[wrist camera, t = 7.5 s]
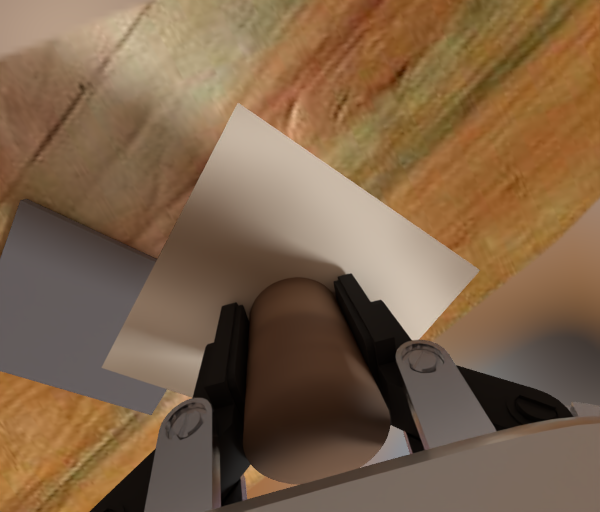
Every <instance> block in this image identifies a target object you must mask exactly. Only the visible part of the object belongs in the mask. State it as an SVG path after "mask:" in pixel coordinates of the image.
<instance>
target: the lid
mask: <svg viewBox="0 0 600 512" xmlns="http://www.w3.org/2000/svg"><path fill="white" fill-rule="evenodd" d="M479 271H480V270H479V269H477V268H476V267H475V266H473V265H472V264H470V263H469V262H467V261H466V260H464V259H463V258H462V257H460V256H459V255H457V254H456V253H454V252H453V251H451V250H450V249H449V248H447V247H446V246H444V245H443V244H441V243H440V242H438V241H437V240H436V239H434V238H433V237H431V236H430V235H428V234H427V233H425V232H424V231H423V230H421V229H420V228H418V227H417V226H415V225H414V224H412V223H411V222H410V221H408V220H407V219H405V218H404V217H402V216H401V215H399V214H398V213H397V212H395V211H394V210H392V209H391V208H389V207H388V206H386V205H385V204H384V203H382V202H381V201H379V200H378V199H376V198H375V197H373V196H372V195H371V194H369V193H368V192H366V191H365V190H363V189H362V188H360V187H359V186H358V185H356V184H355V183H353V182H352V181H350V180H349V179H347V178H346V177H345V176H343V175H342V174H340V173H339V172H337V171H336V170H334V169H333V168H332V167H330V166H329V165H327V164H326V163H324V162H323V161H321V160H320V159H319V158H317V157H316V156H314V155H313V154H311V153H310V152H308V151H307V150H306V149H304V148H303V147H301V146H300V145H298V144H297V143H295V142H294V141H293V140H291V139H290V138H288V137H287V136H285V135H284V134H283V133H281V132H280V131H278V130H277V129H275V128H274V127H272V126H271V125H270V124H268V123H267V122H265V121H264V120H262V119H261V118H259V117H258V116H257V115H255V114H254V113H252V112H251V111H249V110H248V109H246V108H245V107H244V106H242V105H241V104H239V103H238V104H237V106H236V108H235V110H234V111H233V113H232V115H231V117H230V119H229V121H228V123H227V125H226V127H225V129H224V131H223V133H222V135H221V137H220V139H219V141H218V143H217V144H216V146H215V148H214V150H213V152H212V154H211V156H210V158H209V160H208V162H207V164H206V166H205V168H204V170H203V172H202V174H201V176H200V177H199V179H198V181H197V183H196V185H195V187H194V189H193V191H192V193H191V195H190V197H189V199H188V201H187V203H186V205H185V207H184V208H183V210H182V212H181V214H180V216H179V218H178V220H177V222H176V224H175V226H174V228H173V230H172V232H171V234H170V236H169V238H168V240H167V241H166V243H165V245H164V247H163V249H162V251H161V253H160V255H159V257H158V259H157V261H156V263H155V265H154V267H153V269H152V271H151V273H150V274H149V276H148V278H147V280H146V282H145V284H144V286H143V288H142V290H141V292H140V294H139V296H138V298H137V300H136V302H135V304H134V306H133V307H132V309H131V311H130V313H129V315H128V317H127V319H126V321H125V323H124V325H123V327H122V329H121V331H120V333H119V335H118V337H117V338H116V340H115V342H114V344H113V346H112V348H111V350H110V352H109V354H108V356H107V358H106V360H105V362H104V364H103V366H102V368H104V369H107V370H110V371H113V372H116V373H119V374H122V375H125V376H128V377H131V378H134V379H137V380H140V381H143V382H147V383H150V384H153V385H156V386H159V387H162V388H165V389H168V390H171V391H174V392H177V393H180V394H183V395H186V396H189V397H192V398H193V394H194V390H195V386H196V382H197V378H198V374H199V370H200V366H201V362H202V359H203V355H204V351H205V347H206V345H207V344H210V343H214V339H215V335H216V330H217V326H218V321H219V317H220V312H221V307H222V306H224V305H227V304H231V303H235V302H237V304H238V305H243V306H244V309H245V311H246V314H247V317H248V320H249V338H248V356H247V375H246V394H245V413H244V432H243V448H244V452H245V455H246V458H247V459H248V461H249V463H250V464H251V465H252V466H253V467H254V468H255V469H256V470H257V471H258V472H259V473H261V474H263V475H264V476H266V477H268V478H271V479H273V480H276V481H279V482H284V483H289V484H304V483H308V482H311V481H315V480H319V479H322V478H326V477H329V476H333V475H337V474H340V473H344V472H347V471H351V470H355V469H358V468H360V467H361V466H363V465H364V464H365V463H367V462H368V461H369V460H371V459H372V458H373V457H374V456H375V454H376V453H377V452H378V451H379V450H380V449H381V447H382V446H383V444H384V443H385V441H386V439H387V436H388V433H389V429H390V414H389V410H388V408H387V406H386V403H385V401H384V399H383V397H382V395H381V393H380V391H379V389H378V386H377V384H376V382H375V380H374V378H373V376H372V374H371V372H370V370H369V368H368V366H367V363H366V361H365V359H364V357H363V355H362V353H361V351H360V349H359V346H358V344H357V342H356V340H355V338H354V336H353V334H352V332H351V329H350V327H349V325H348V323H347V321H346V319H345V317H344V315H343V312H342V310H341V308H340V306H339V304H338V302H337V299H336V294H335V289H334V283H333V282H334V281H337V280H338V276H342V275H346V274H350V273H352V274H353V276H354V277H355V279H356V280H357V282H358V283H359V285H360V286H361V288H362V289H363V291H364V292H365V294H366V295H367V297H368V298H369V300H370V301H371V302H373V301H376V300H382V301H383V302H384V303H385V305H386V306H387V307H388V309H389V310H390V311H391V313H392V314H393V315H394V317H395V318H396V319H397V321H398V322H399V323H400V325H401V326H402V328H403V329H404V330H405V332H406V333H407V334H408V336H409V337H410V338H411V340H419V339H420V338H421V336H422V335H423V334H424V333H425V332H426V331H427V330H428V329H429V327H430V326H431V325H432V324H433V323H434V322H435V321H436V319H437V318H438V317H439V316H440V315H441V314H442V313H443V312H444V310H445V309H446V308H447V307H448V306H449V305H450V304H451V302H452V301H453V300H454V299H455V298H456V297H457V296H458V295H459V293H460V292H461V291H462V290H463V289H464V288H465V287H466V285H467V284H468V283H469V282H470V281H471V280H472V279H473V278H474V276H475V275H476V274H477V273H478V272H479Z"/></svg>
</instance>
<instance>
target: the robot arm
mask: <svg viewBox="0 0 600 512" xmlns="http://www.w3.org/2000/svg"><path fill="white" fill-rule="evenodd" d="M333 283H334V289H335V294H336V299H337V302H338V304H339V306H340V308H341V310H342V312H343V315H344V317H345V319H346V321H347V323H348V325H349V327H350V329H351V332H352V334H353V336H354V338H355V340H356V342H357V344H358V346H359V349H360V351H361V353H362V355H363V357H364V359H365V361H366V363H367V366H368V368H369V370H370V372H371V374H372V376H373V378H374V380H375V382H376V384H377V386H378V389H379V391H380V393H381V395H382V397H383V399H384V401H385V403H386V406H387V408H388V410H389V414H390V425H392V426H394V427H397V428H399V429H401V430H403V432H404V437H405V440H406V443H407V446H408V449H409V452H410V455H406V456H402V457H398V458H395V459H391V460H387V461H384V462H380V463H376V464H373V465H369V466H365V467H362V468H358V469H355V470H351V471H347V472H344V473H340V474H337V475H333V476H329V477H326V478H322V479H319V480H315V481H311V482H308V483H304V484H301V485H297V486H294V487H290V488H287V489H283V490H279V491H276V492H272V493H269V494H265V495H261V496H258V497H255V498H251V499H247V493H246V483H245V476H244V472H245V471H246V470H247V468H248V467H249V466H250V463H249V461H248V459H247V458H246V455H245V452H244V448H243V432H244V413H245V394H246V375H247V356H248V338H249V320H248V317H247V314H246V311H245V309H244V306H243V305H238V304H237V302H235V303H231V304H227V305H224V306H222V307H221V312H220V317H219V321H218V326H217V330H216V335H215V339H214V343H210V344H207V345H206V347H205V351H204V355H203V359H202V362H201V366H200V370H199V374H198V378H197V382H196V386H195V390H194V394H193V398H192V399H189V400H186V401H184V402H182V403H180V404H179V405H178V406H176V407H175V408H174V409H172V411H171V412H170V413H169V414H168V415H167V416H166V417H165V419H164V421H163V422H162V424H161V427H160V430H159V434H158V440H157V445H156V449H155V450H154V451H153V452H152V453H151V454H149V455H148V456H147V457H146V458H145V459H144V460H143V461H142V462H141V463H140V464H139V465H138V466H137V467H136V468H135V469H134V470H133V471H132V472H131V473H130V474H128V475H127V476H126V477H125V478H124V479H123V480H122V481H121V482H120V483H119V484H118V485H117V486H116V487H115V488H114V489H113V490H112V491H111V492H110V493H109V494H107V495H106V496H105V497H104V498H103V499H102V500H101V501H100V502H99V503H98V504H97V505H96V506H95V507H94V508H93V509H92V510H91V511H90V512H600V406H596V405H590V404H584V403H578V402H572V404H571V406H567V405H563V404H562V403H561V402H560V401H559V400H557V399H556V398H554V397H552V396H551V395H549V394H547V393H545V392H542V391H539V390H537V389H534V388H531V387H527V386H524V385H520V384H517V383H514V382H510V381H507V380H504V379H500V378H497V377H494V376H490V375H487V374H483V373H480V372H477V371H473V370H470V369H466V368H464V367H460V366H457V365H455V363H454V362H453V360H452V358H451V357H450V355H449V354H448V353H447V351H446V350H445V349H444V348H442V347H441V346H440V345H438V344H436V343H433V342H431V341H426V340H411V338H410V337H409V336H408V334H407V333H406V332H405V330H404V329H403V328H402V326H401V325H400V323H399V322H398V321H397V319H396V318H395V317H394V315H393V314H392V313H391V311H390V310H389V309H388V307H387V306H386V305H385V303H384V302H383V301H382V300H376V301H373V302H371V301H370V300H369V298H368V297H367V295H366V294H365V292H364V291H363V289H362V288H361V286H360V285H359V283H358V282H357V280H356V279H355V277H354V276H353V274H352V273H350V274H346V275H342V276H338V280H337V281H334V282H333Z"/></svg>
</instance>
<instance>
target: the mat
mask: <svg viewBox="0 0 600 512" xmlns="http://www.w3.org/2000/svg"><path fill="white" fill-rule="evenodd" d="M156 261H157V259H155V258H153V257H151V256H149V255H147V254H145V253H143V252H140V251H138V250H136V249H134V248H132V247H130V246H127V245H125V244H123V243H121V242H119V241H117V240H114V239H112V238H110V237H108V236H106V235H104V234H101V233H99V232H97V231H95V230H93V229H91V228H88V227H86V226H84V225H82V224H80V223H78V222H75V221H73V220H71V219H69V218H67V217H65V216H63V215H60V214H58V213H56V212H54V211H52V210H50V209H47V208H45V207H43V206H41V205H39V204H37V203H34V202H32V201H30V200H28V199H24V200H20V203H19V206H18V209H17V212H16V215H15V218H14V221H13V224H12V226H11V229H10V232H9V235H8V238H7V241H6V244H5V247H4V249H3V252H2V255H1V258H0V371H2V372H6V373H9V374H12V375H16V376H19V377H23V378H26V379H30V380H33V381H36V382H40V383H43V384H47V385H50V386H54V387H57V388H60V389H64V390H67V391H71V392H74V393H78V394H81V395H84V396H88V397H91V398H95V399H98V400H101V401H105V402H108V403H112V404H115V405H119V406H122V407H125V408H129V409H132V410H136V411H139V412H143V413H146V414H149V415H152V413H153V411H154V410H155V408H156V406H157V405H158V403H159V402H160V400H161V398H162V397H163V395H164V393H165V392H166V390H167V389H165V388H162V387H159V386H156V385H153V384H150V383H147V382H143V381H140V380H137V379H134V378H131V377H128V376H125V375H122V374H119V373H116V372H113V371H110V370H107V369H104V368H102V366H103V364H104V362H105V360H106V358H107V356H108V354H109V352H110V350H111V348H112V346H113V344H114V342H115V340H116V338H117V337H118V335H119V333H120V331H121V329H122V327H123V325H124V323H125V321H126V319H127V317H128V315H129V313H130V311H131V309H132V307H133V306H134V304H135V302H136V300H137V298H138V296H139V294H140V292H141V290H142V288H143V286H144V284H145V282H146V280H147V278H148V276H149V274H150V273H151V271H152V269H153V267H154V265H155V263H156Z"/></svg>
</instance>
